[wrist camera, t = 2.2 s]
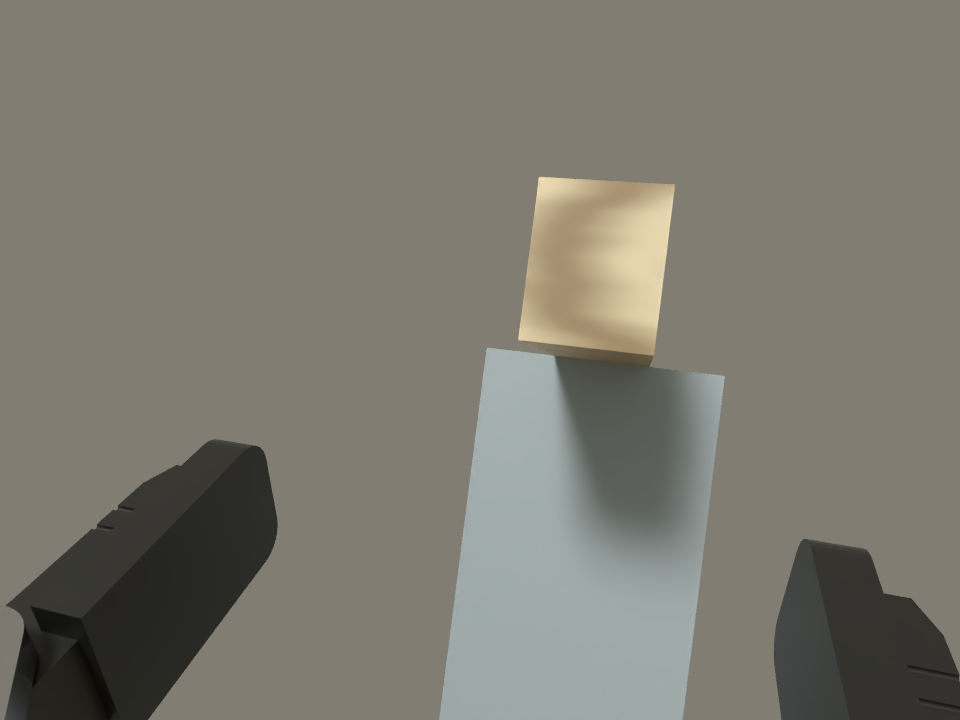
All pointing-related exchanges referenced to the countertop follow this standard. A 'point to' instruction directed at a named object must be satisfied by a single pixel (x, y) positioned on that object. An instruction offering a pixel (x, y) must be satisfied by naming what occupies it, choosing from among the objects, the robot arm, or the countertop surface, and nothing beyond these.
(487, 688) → the slate stand
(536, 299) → the maple bar
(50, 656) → the robot arm
